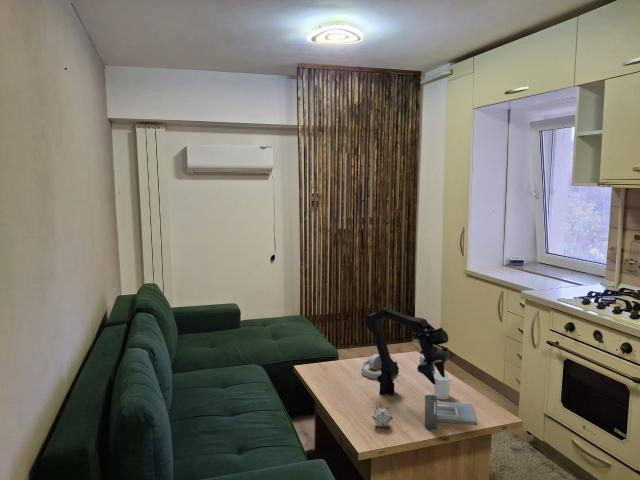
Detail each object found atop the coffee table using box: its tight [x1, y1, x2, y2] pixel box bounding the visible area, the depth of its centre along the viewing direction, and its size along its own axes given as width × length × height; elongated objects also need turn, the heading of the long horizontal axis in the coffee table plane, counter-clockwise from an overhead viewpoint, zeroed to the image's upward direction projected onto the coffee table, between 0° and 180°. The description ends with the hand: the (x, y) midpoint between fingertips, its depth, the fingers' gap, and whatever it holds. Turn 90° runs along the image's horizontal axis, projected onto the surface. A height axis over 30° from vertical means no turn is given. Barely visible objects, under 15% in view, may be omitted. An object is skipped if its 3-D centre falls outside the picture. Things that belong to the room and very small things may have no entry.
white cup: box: [433, 372, 451, 400], centre depth 223 cm, size 8×8×10 cm
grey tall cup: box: [424, 394, 439, 431], centre depth 196 cm, size 5×5×13 cm
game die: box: [371, 406, 394, 429], centre depth 197 cm, size 9×8×10 cm
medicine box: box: [419, 355, 436, 374], centre depth 250 cm, size 8×4×9 cm, turn 25°
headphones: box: [361, 353, 396, 381], centre depth 252 cm, size 18×8×20 cm
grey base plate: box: [437, 400, 478, 425], centre depth 207 cm, size 18×16×3 cm
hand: (439, 380), depth 210 cm, fingers open, 9 cm apart
